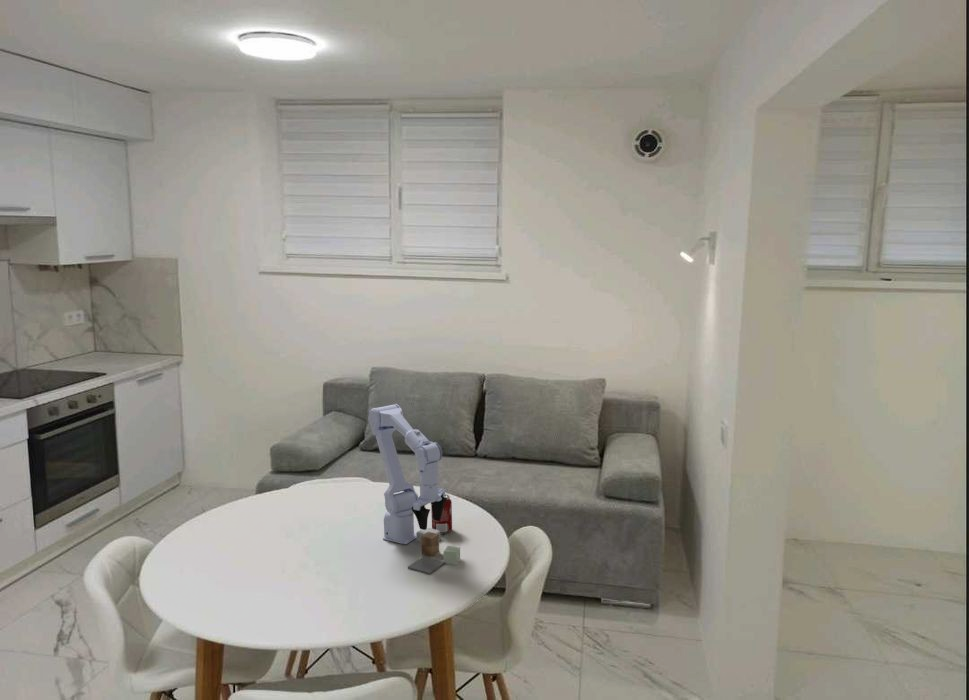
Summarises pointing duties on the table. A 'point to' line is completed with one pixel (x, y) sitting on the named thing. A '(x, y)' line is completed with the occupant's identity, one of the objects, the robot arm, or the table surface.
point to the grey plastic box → (422, 532)
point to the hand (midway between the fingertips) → (430, 524)
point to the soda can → (444, 518)
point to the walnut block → (430, 544)
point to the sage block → (452, 555)
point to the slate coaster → (426, 565)
